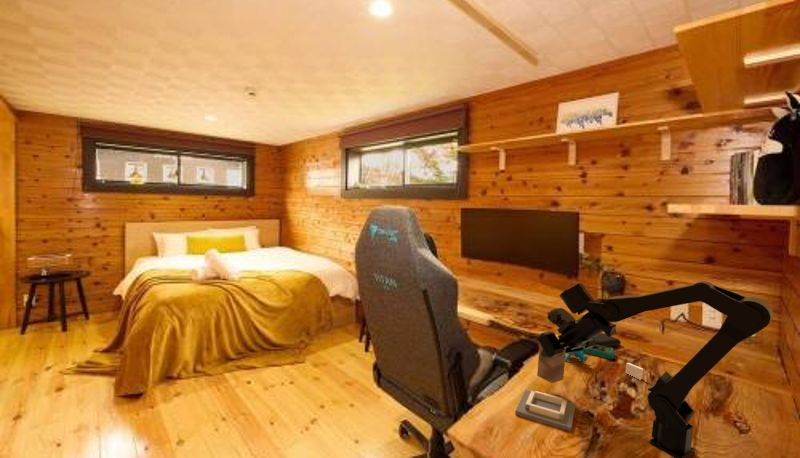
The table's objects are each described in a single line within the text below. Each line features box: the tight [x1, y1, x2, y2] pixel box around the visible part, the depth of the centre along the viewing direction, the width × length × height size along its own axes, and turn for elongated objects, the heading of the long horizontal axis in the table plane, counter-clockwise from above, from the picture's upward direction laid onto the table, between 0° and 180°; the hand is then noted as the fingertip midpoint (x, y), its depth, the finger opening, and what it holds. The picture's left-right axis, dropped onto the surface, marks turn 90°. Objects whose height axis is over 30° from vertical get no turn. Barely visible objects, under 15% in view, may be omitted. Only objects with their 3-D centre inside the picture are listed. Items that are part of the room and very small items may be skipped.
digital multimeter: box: [580, 343, 616, 360], centre depth 143 cm, size 7×15×3 cm, turn 57°
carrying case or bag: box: [594, 332, 622, 348], centre depth 153 cm, size 11×3×15 cm
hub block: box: [536, 343, 567, 384], centre depth 109 cm, size 5×5×10 cm
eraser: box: [625, 362, 644, 381], centre depth 123 cm, size 1×5×4 cm, turn 25°
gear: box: [565, 351, 588, 363], centre depth 134 cm, size 11×6×10 cm
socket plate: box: [514, 389, 576, 432], centre depth 99 cm, size 13×13×2 cm
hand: (547, 353), depth 110 cm, fingers closed on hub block, 5 cm apart
